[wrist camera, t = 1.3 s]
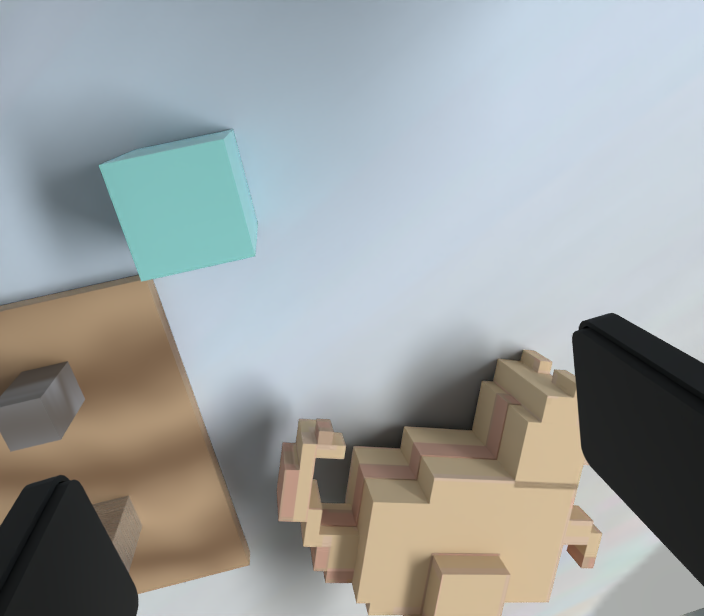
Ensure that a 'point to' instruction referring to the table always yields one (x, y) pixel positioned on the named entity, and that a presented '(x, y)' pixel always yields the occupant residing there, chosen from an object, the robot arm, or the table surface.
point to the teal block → (183, 204)
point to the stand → (115, 424)
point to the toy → (452, 502)
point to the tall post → (121, 526)
